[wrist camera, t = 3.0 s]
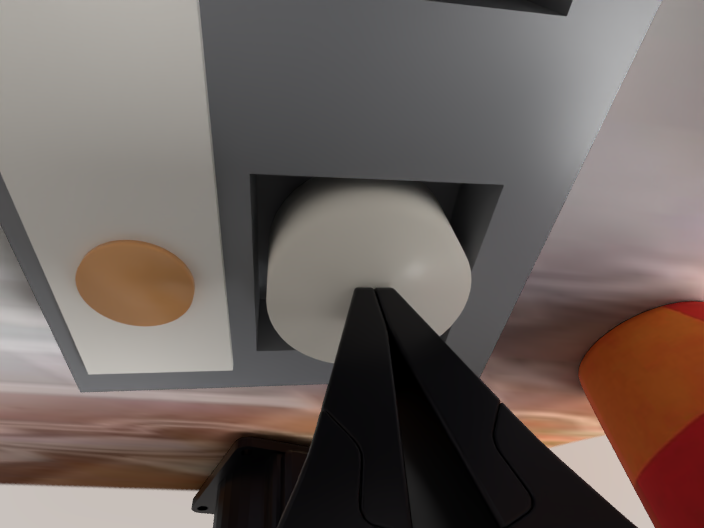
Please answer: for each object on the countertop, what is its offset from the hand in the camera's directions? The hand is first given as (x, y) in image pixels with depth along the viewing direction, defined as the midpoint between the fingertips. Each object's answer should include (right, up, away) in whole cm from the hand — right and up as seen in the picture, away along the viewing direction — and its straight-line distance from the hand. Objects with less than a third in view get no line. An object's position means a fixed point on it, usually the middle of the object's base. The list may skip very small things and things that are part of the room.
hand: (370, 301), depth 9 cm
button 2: (0, +1, +1) cm, 2 cm away
